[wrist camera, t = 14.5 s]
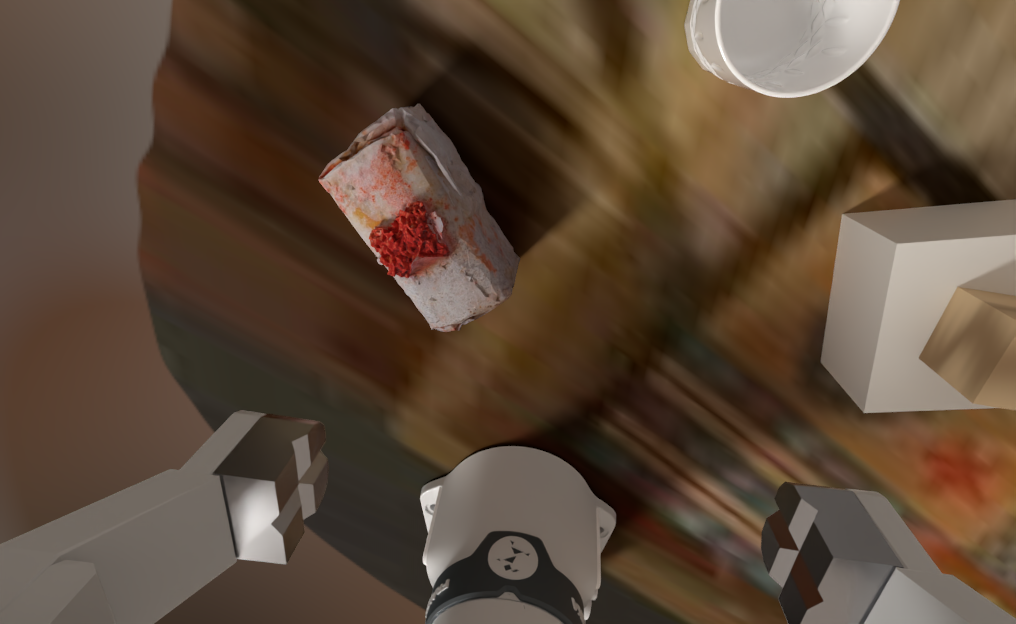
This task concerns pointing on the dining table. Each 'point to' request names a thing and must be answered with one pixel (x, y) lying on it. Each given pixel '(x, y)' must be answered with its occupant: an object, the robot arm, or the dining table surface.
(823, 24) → the white cup
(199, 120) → the dining table surface
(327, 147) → the dining table surface
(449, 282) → the food item
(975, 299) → the oak cube
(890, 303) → the white square block
